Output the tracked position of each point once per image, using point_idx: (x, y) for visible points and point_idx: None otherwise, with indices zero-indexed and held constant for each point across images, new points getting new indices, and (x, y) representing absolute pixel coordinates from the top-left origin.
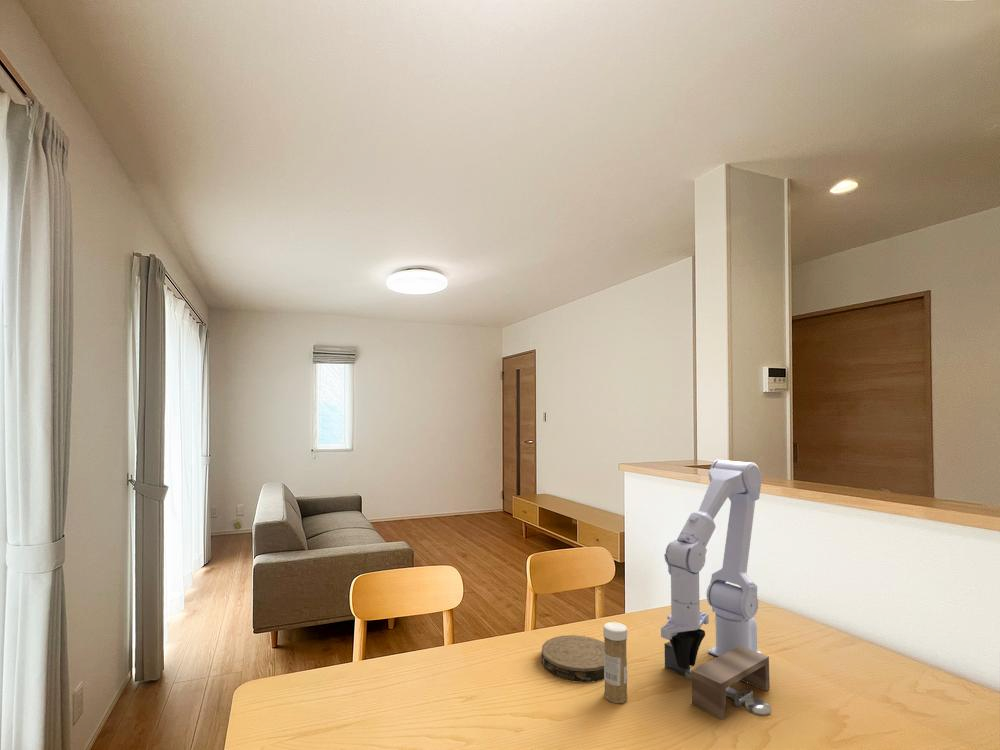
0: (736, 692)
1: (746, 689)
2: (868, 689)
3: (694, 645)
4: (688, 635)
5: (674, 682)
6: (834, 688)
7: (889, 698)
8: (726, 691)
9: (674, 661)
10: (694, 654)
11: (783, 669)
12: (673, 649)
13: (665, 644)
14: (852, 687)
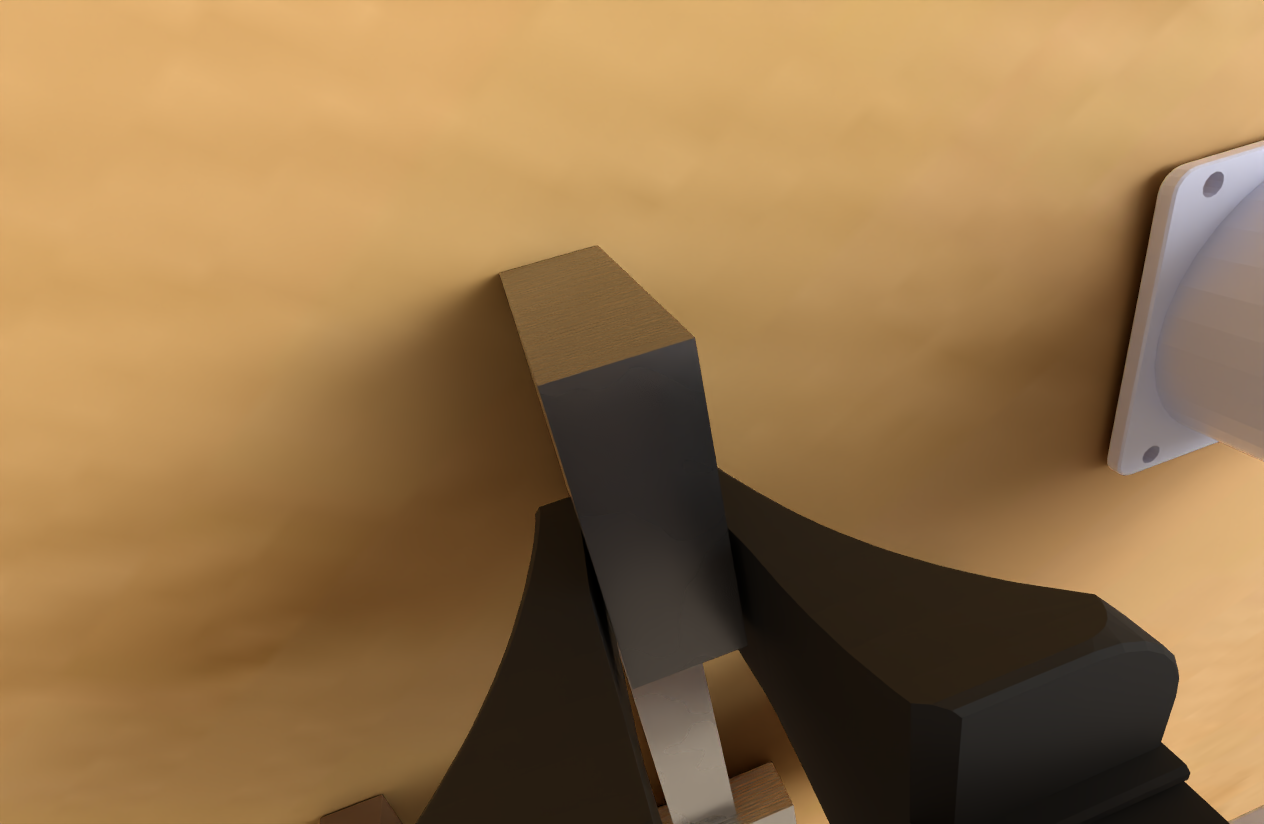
0: (705, 806)
1: (778, 812)
2: (1259, 741)
3: (805, 753)
4: (866, 808)
5: (395, 551)
6: (1182, 726)
7: (1229, 791)
8: (661, 783)
9: (555, 449)
10: (746, 657)
11: (1235, 551)
12: (507, 645)
13: (544, 398)
14: (1239, 725)
